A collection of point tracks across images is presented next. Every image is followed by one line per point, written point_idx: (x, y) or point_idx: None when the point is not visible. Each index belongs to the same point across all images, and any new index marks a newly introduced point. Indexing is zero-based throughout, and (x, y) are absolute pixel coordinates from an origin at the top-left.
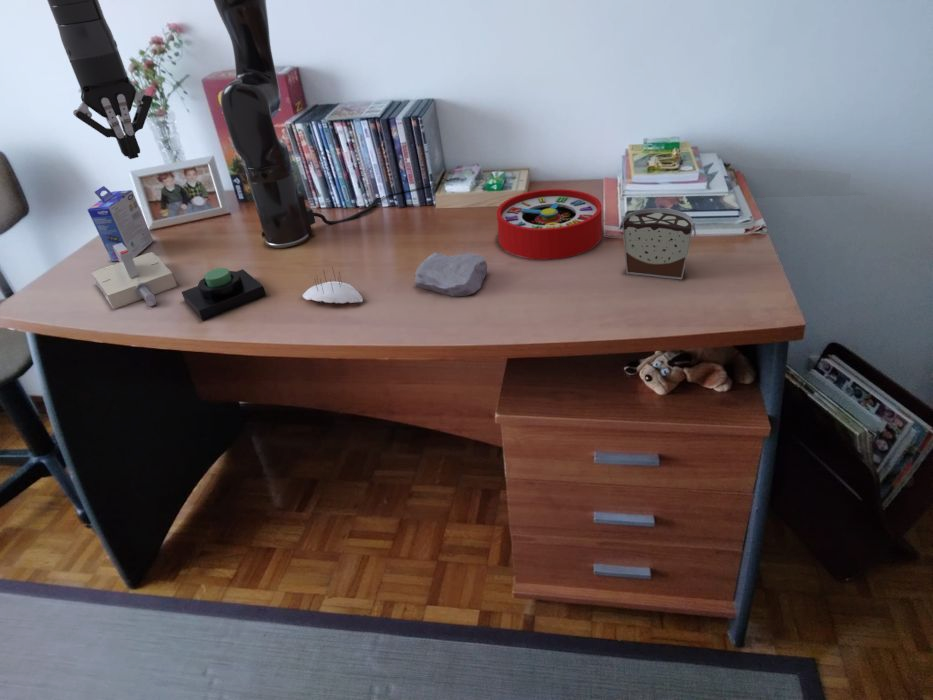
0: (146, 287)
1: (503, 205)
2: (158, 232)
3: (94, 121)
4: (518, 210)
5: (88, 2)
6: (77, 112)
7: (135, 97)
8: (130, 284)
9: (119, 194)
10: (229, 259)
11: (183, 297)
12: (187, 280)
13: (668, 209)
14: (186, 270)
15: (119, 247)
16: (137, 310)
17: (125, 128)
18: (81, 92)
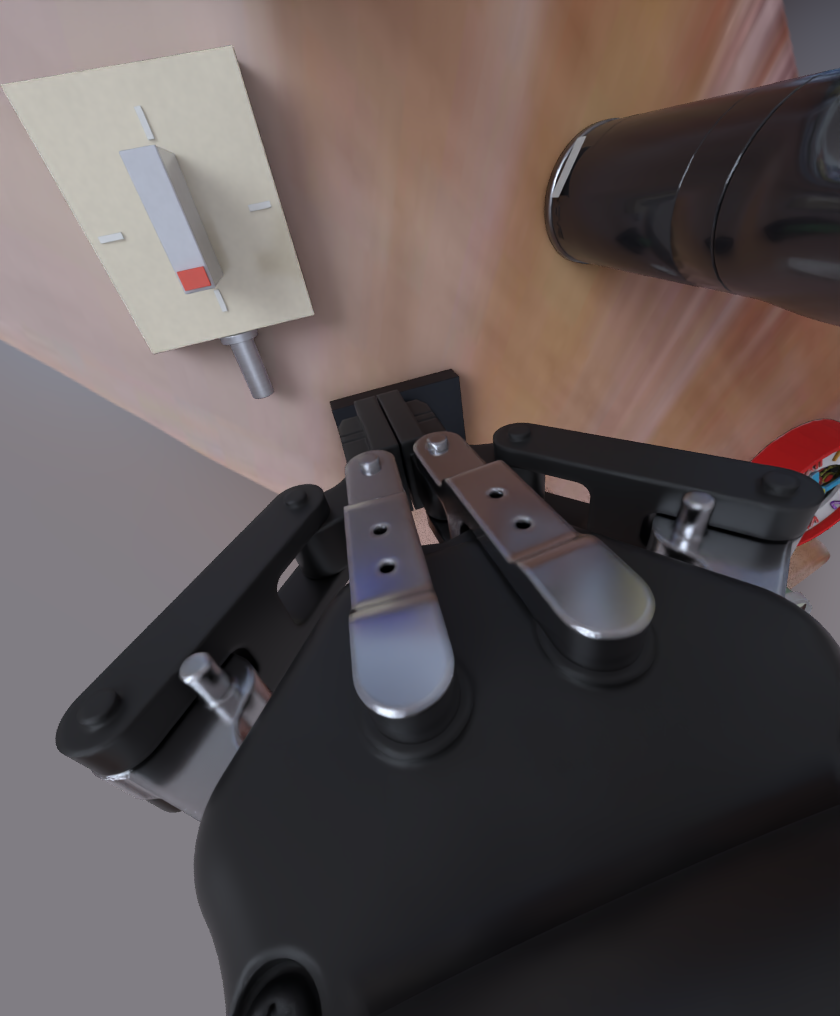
0: (251, 349)
1: (817, 462)
2: None
3: (281, 673)
4: (813, 471)
5: None
6: (169, 810)
7: (703, 566)
8: (206, 320)
9: None
10: (446, 218)
11: (331, 406)
12: (336, 285)
13: (810, 608)
14: (334, 207)
15: (160, 204)
16: (227, 381)
17: (440, 542)
18: (225, 972)
